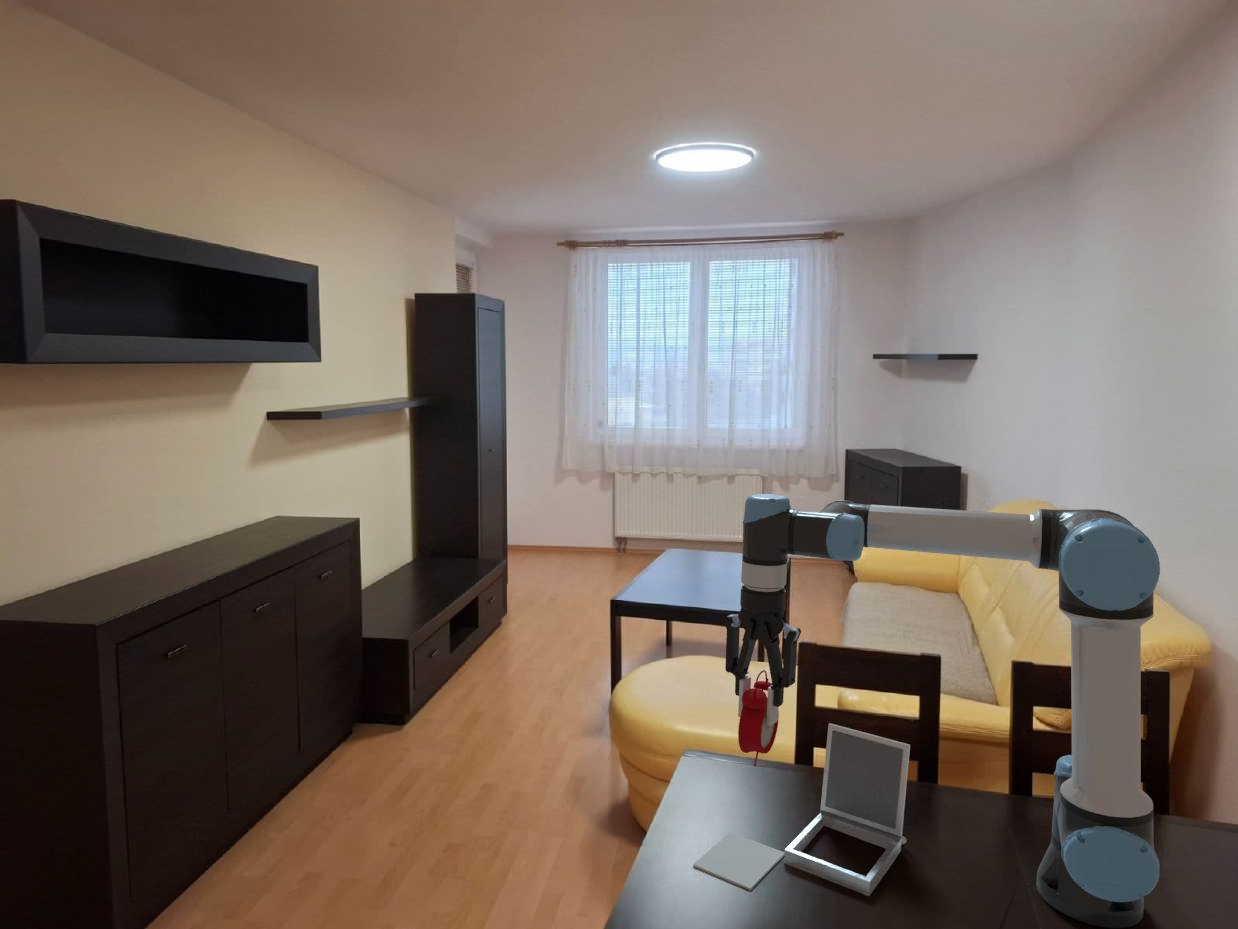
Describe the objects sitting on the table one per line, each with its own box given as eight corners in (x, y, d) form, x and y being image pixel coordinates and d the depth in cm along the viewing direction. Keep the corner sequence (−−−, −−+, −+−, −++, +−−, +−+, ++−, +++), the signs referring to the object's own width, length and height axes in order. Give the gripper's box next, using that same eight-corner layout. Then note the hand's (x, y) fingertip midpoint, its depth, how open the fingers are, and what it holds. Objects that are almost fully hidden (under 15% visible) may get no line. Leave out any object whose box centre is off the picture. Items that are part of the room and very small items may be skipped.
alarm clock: (755, 773, 136) (778, 694, 132) (721, 756, 138) (743, 678, 135) (776, 749, 145) (798, 674, 141) (744, 733, 147) (765, 659, 144)
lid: (899, 836, 144) (902, 835, 145) (908, 746, 144) (910, 744, 145) (819, 809, 152) (822, 808, 153) (827, 724, 153) (830, 723, 154)
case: (900, 852, 145) (901, 836, 144) (869, 896, 132) (869, 879, 132) (820, 824, 154) (821, 809, 153) (784, 863, 141) (784, 847, 140)
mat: (785, 854, 143) (785, 852, 143) (750, 890, 133) (750, 888, 133) (730, 834, 150) (730, 831, 150) (693, 866, 139) (693, 864, 139)
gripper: (822, 590, 135) (815, 725, 137) (728, 573, 145) (723, 699, 148) (802, 599, 129) (796, 740, 131) (706, 581, 140) (702, 711, 142)
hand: (757, 718), depth 139 cm, fingers closed on alarm clock, 5 cm apart
